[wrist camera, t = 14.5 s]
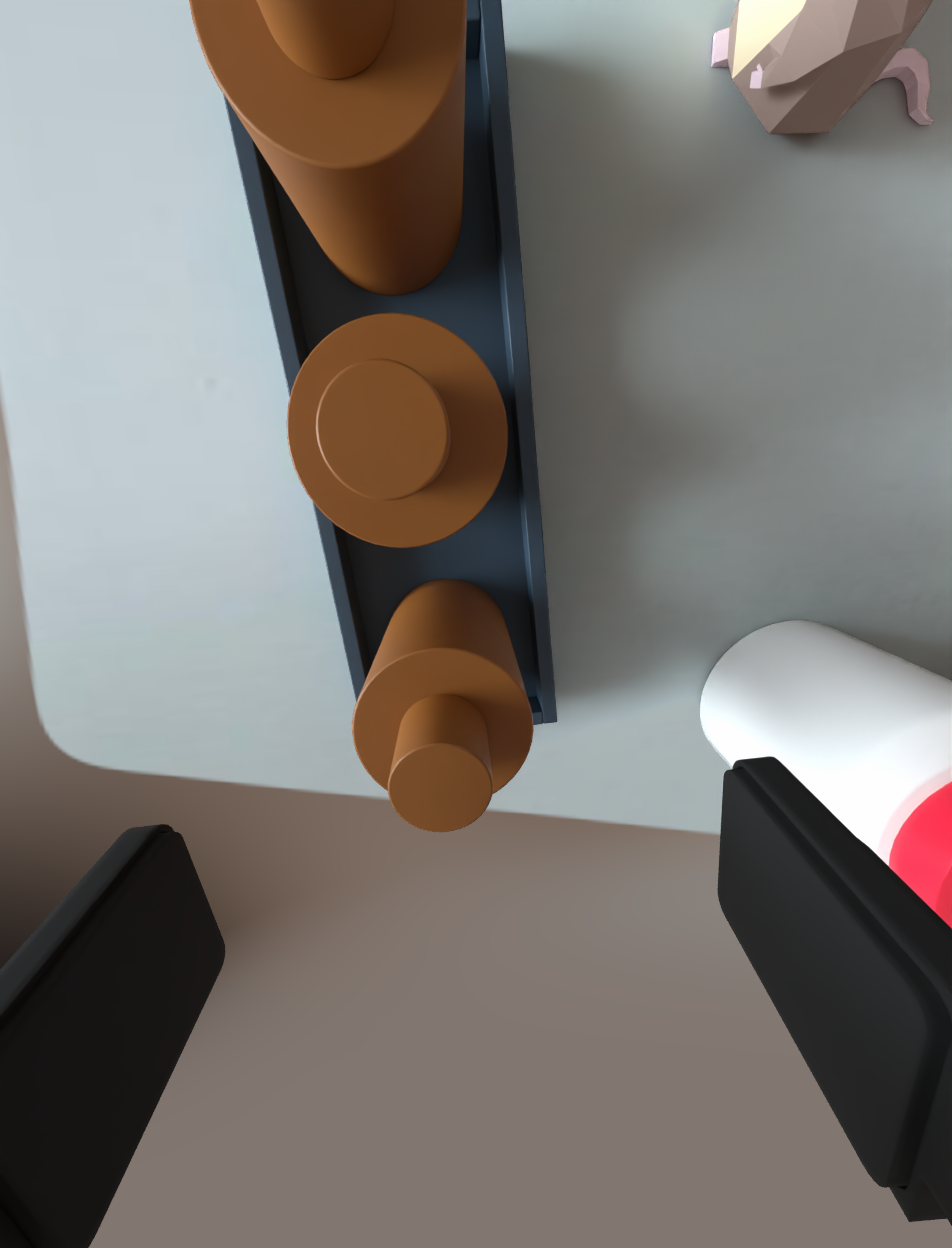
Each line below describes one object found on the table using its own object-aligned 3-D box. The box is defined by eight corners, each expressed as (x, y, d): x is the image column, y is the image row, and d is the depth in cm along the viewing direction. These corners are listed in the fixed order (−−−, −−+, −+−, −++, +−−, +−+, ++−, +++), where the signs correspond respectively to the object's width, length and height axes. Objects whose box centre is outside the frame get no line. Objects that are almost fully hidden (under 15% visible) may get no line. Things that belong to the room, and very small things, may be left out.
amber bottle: (500, 571, 20) (541, 676, 11) (511, 681, 22) (557, 863, 12) (379, 586, 21) (306, 706, 11) (400, 695, 22) (353, 888, 12)
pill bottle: (722, 612, 22) (962, 748, 12) (886, 627, 23) (1257, 770, 12) (682, 762, 24) (851, 988, 14) (831, 773, 25) (1102, 998, 14)
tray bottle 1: (451, 104, 16) (442, -510, 6) (470, 286, 17) (489, 51, 7) (294, 124, 16) (16, -455, 6) (328, 305, 17) (154, 94, 7)
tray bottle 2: (479, 366, 18) (507, 249, 8) (494, 506, 20) (532, 552, 10) (343, 383, 18) (204, 289, 8) (368, 521, 20) (278, 584, 10)
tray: (494, 46, 16) (500, -14, 14) (548, 699, 23) (557, 722, 21) (238, 80, 16) (207, 25, 14) (373, 721, 23) (365, 746, 21)
